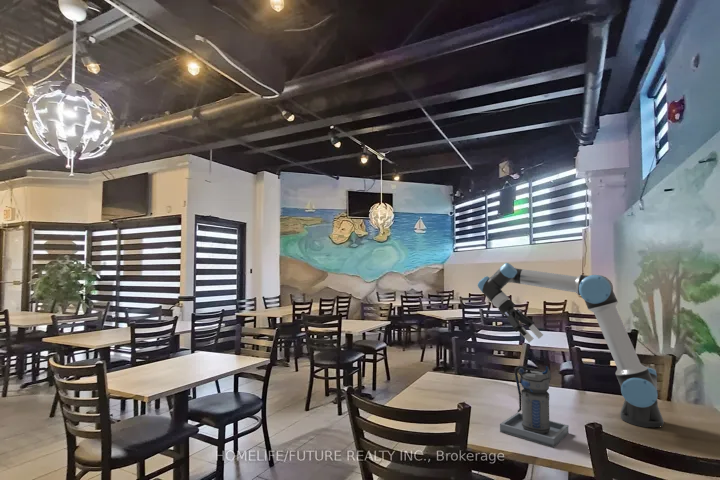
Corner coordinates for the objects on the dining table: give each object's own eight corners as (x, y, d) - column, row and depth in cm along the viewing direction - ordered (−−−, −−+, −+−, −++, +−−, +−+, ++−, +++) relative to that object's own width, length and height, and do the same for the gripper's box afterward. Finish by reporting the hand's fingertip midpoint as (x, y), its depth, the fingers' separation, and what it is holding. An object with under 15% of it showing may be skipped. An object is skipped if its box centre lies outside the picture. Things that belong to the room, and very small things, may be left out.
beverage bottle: (515, 422, 165) (514, 361, 167) (550, 427, 160) (549, 364, 162) (515, 432, 155) (514, 366, 157) (553, 437, 151) (551, 370, 153)
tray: (568, 433, 158) (568, 425, 158) (553, 447, 145) (553, 439, 145) (517, 419, 171) (517, 412, 172) (500, 431, 158) (499, 423, 158)
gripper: (508, 307, 206) (539, 340, 195) (487, 310, 187) (520, 347, 176) (518, 297, 203) (550, 330, 192) (498, 299, 184) (533, 336, 173)
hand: (536, 338), depth 184 cm, fingers open, 13 cm apart
